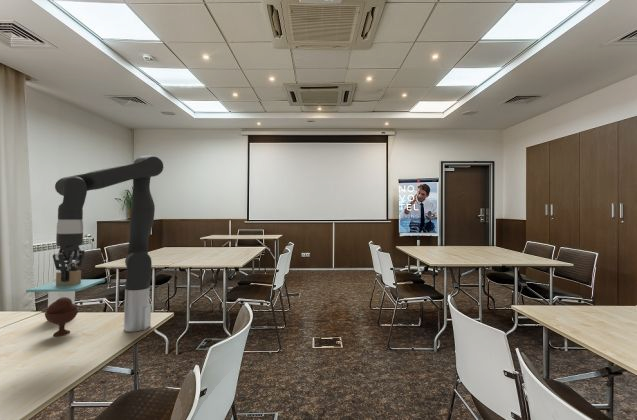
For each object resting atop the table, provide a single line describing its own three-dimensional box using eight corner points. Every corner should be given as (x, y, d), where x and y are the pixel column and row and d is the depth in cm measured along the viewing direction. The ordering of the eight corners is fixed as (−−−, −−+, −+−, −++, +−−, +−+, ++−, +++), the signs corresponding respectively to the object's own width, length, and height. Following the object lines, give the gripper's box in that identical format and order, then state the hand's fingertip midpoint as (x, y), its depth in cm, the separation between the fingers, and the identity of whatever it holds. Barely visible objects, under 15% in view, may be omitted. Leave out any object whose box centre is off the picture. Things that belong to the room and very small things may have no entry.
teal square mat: (105, 281, 121) (105, 267, 121) (78, 291, 105) (79, 275, 105) (59, 282, 119) (60, 268, 119) (25, 292, 103) (26, 276, 103)
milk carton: (74, 317, 148) (75, 277, 148) (57, 322, 141) (59, 280, 142) (64, 315, 150) (65, 276, 151) (47, 320, 143) (48, 278, 144)
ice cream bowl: (85, 329, 132) (86, 294, 133) (61, 339, 121) (62, 301, 122) (62, 328, 133) (63, 293, 134) (36, 338, 122) (37, 299, 123)
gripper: (68, 233, 106) (67, 284, 105) (93, 231, 120) (92, 276, 119) (43, 233, 105) (42, 284, 104) (71, 231, 119) (70, 276, 118)
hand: (69, 280), depth 112 cm, fingers closed on teal square mat, 3 cm apart
